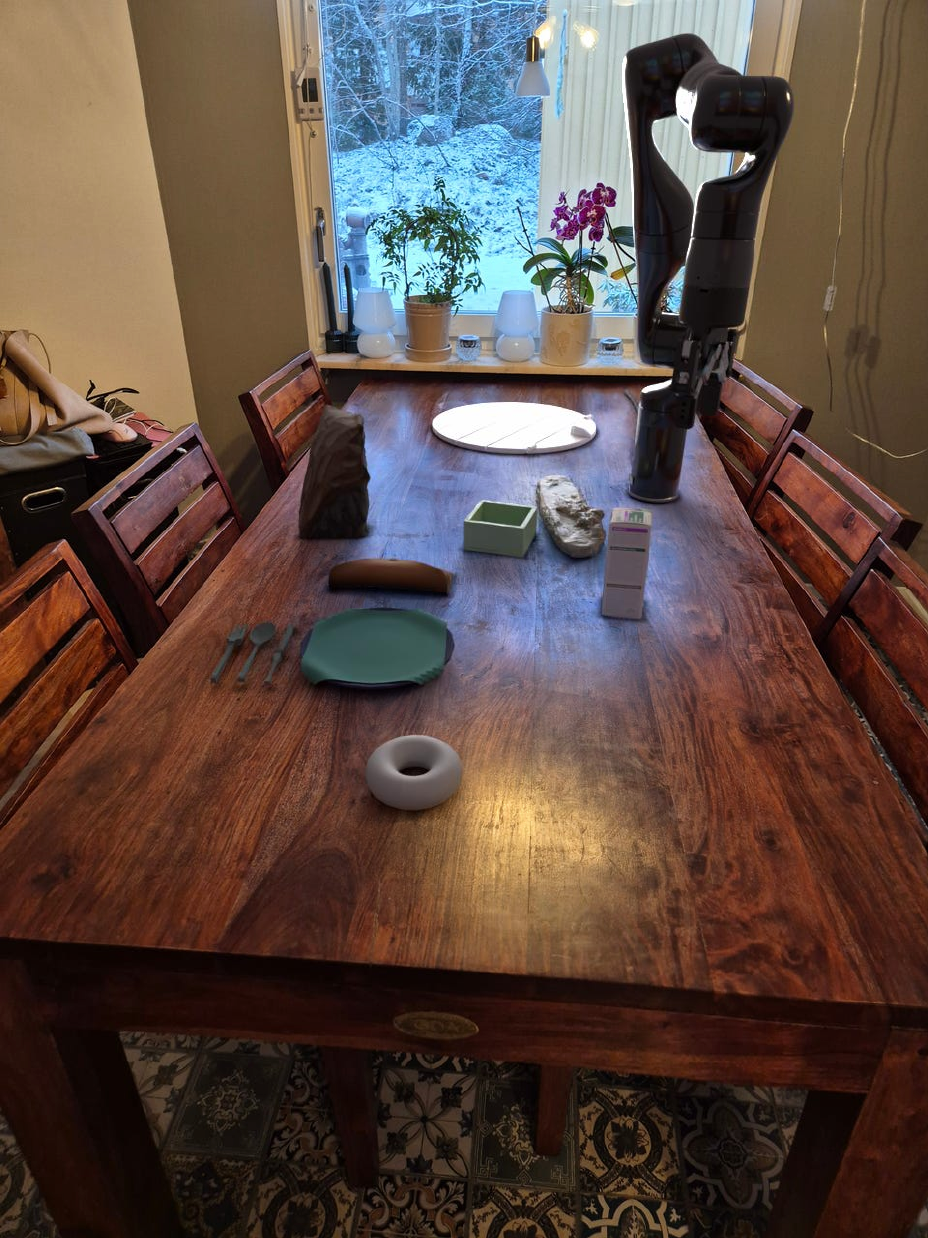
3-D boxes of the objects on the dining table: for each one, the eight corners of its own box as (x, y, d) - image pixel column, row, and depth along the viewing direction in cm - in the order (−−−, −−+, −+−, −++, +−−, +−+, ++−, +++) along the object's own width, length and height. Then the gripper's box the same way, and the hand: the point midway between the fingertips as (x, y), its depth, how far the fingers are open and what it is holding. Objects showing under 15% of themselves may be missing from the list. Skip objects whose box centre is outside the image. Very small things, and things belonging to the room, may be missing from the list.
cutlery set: (452, 702, 97) (452, 685, 96) (201, 697, 97) (198, 681, 96) (456, 619, 114) (456, 605, 113) (243, 616, 115) (241, 602, 114)
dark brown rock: (323, 510, 149) (315, 401, 140) (389, 517, 147) (385, 406, 137) (295, 537, 139) (283, 421, 129) (365, 545, 136) (358, 427, 126)
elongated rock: (576, 493, 162) (527, 496, 162) (577, 467, 160) (526, 470, 159) (617, 559, 131) (555, 563, 130) (618, 528, 128) (555, 532, 128)
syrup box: (641, 620, 115) (654, 524, 108) (599, 616, 116) (609, 521, 109) (642, 601, 120) (654, 509, 113) (601, 597, 121) (611, 505, 114)
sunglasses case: (454, 570, 127) (451, 545, 121) (449, 609, 124) (446, 585, 118) (340, 564, 128) (332, 540, 123) (333, 603, 125) (324, 579, 119)
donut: (458, 752, 89) (366, 755, 88) (459, 726, 87) (365, 729, 87) (466, 816, 80) (364, 820, 80) (467, 789, 79) (363, 793, 78)
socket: (479, 527, 144) (480, 499, 141) (536, 534, 141) (537, 506, 138) (463, 549, 135) (463, 521, 133) (522, 557, 133) (523, 528, 130)
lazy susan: (624, 422, 201) (626, 409, 200) (552, 465, 173) (553, 450, 171) (486, 399, 220) (486, 386, 218) (400, 434, 191) (399, 419, 189)
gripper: (706, 275, 102) (688, 406, 109) (661, 283, 91) (645, 427, 99) (767, 279, 98) (744, 415, 105) (727, 287, 87) (705, 437, 95)
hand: (696, 421), depth 102 cm, fingers open, 8 cm apart
